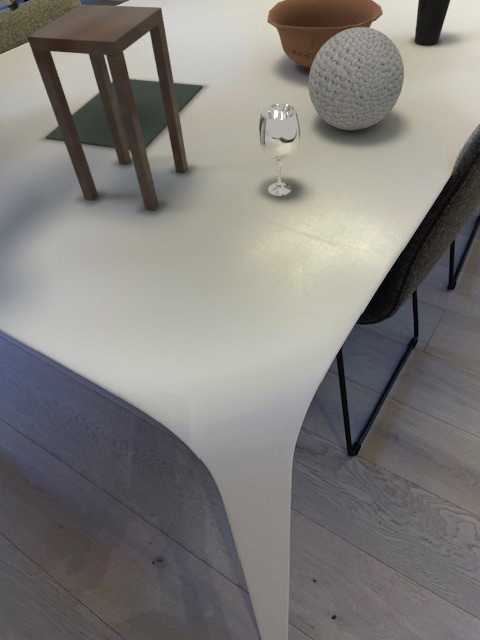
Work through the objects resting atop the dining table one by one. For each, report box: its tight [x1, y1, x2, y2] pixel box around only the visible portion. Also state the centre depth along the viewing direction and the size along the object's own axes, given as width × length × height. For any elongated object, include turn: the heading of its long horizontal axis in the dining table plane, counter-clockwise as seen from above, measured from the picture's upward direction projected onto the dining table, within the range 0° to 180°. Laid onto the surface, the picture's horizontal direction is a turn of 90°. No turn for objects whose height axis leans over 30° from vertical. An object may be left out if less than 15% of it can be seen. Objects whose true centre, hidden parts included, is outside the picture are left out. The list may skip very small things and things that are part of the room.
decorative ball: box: [308, 27, 405, 131], centre depth 80 cm, size 15×15×15 cm
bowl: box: [267, 0, 384, 75], centre depth 98 cm, size 22×22×11 cm
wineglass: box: [257, 103, 301, 197], centre depth 69 cm, size 6×6×12 cm
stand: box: [26, 4, 189, 212], centre depth 69 cm, size 12×12×23 cm
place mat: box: [45, 78, 203, 151], centre depth 95 cm, size 20×26×1 cm
